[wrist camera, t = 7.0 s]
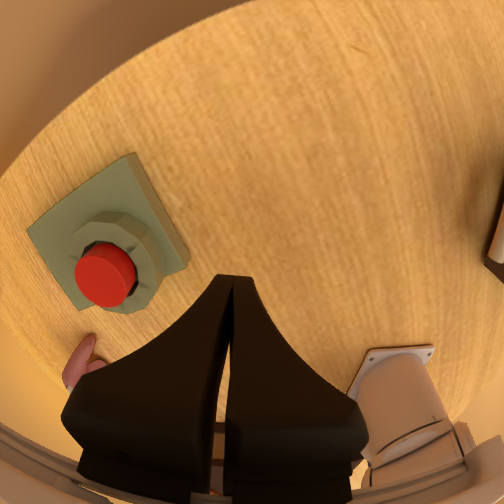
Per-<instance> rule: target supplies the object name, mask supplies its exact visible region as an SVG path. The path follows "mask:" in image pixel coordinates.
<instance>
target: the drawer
mask: <svg viewBox="0 0 504 504" xmlns="http://www.w3.org/2000/svg"><path fill="white" fill-rule="evenodd" d="M484 264H485V265H487V266H488V267H489V268H490V269H491V270H492V271H493V272H494V273H495V274H496V275H497V276H498V277H499V278H500V279H501V280H503V281H504V202H503V206H502V210H501V213H500V217H499V220H498V223H497V227H496V230H495V233H494V236H493V239H492V242H491V245H490V248H489V251H488V253H487V256H486V259H485V261H484Z"/></svg>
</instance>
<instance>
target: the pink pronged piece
mask: <svg viewBox="0 0 504 504" xmlns="http://www.w3.org/2000/svg"><path fill="white" fill-rule="evenodd" d="M95 342H96V338H95V336H93V335H90V336H87V337H86V338H85V339H84V340H83V341H82V342H81V343H80V344H79V345H78V347H77V348H76V349H75V351H74V352H73V353H72V355H71V357H70V358H69V360H68V362H67V364H66V366H65V368H64V370H63V372H62V380H63V383H64V385H65V387H66V389H67V390H68V392H69V394H71V392H72V390H73V388H74V386H75V385H76V383H77V382H78V380H79V379H80V377H81V376H82V375H83V374H86V373H89V372H92V371H94V370H97V369H99V368H102V367H104V366H106V365H107V364H106V363H105V362H104V361H102V360H94V361H91V362H90V363H88V364H86V363H87V361H88V359H89V357H90V355H91V353H92V351H93V349H94V346H95Z"/></svg>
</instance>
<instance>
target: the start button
mask: <svg viewBox="0 0 504 504" xmlns="http://www.w3.org/2000/svg"><path fill="white" fill-rule="evenodd" d="M135 279H136V272H135V267H134V264H133V262H132V260H131V259H130V257H129V256H128V255H127V254H126V253H125V252H124V251H123V250H122V249H121V248H119V247H117V246H115V245H113V244H109V243H100V244H97V245H95V246H93V247H92V248H91V249H90V250H89V251H88V252H87V253H86V254H85V255H84V256H83V257H82V258H81V259H80V260H79V261H78V262H77V264H76V267H75V280H76V283H77V286H78V287H79V289H80V291H81V292H82V294H83V295H84V296H85V297H86V298H87V299H88V300H90V301H91V302H92V303H94V304H96V305H98V306H101V307H105V308H113V307H116V306H118V305H120V304H121V303H122V302H123V301H124V299H125V298H126V296H127V294H128V293H129V291H130V290H131V288H132V286H133V285H134V283H135Z"/></svg>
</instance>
